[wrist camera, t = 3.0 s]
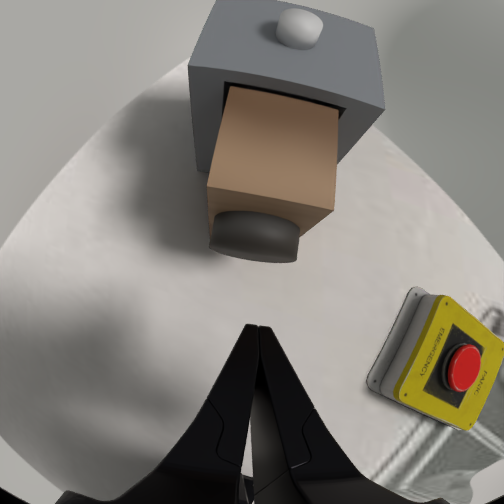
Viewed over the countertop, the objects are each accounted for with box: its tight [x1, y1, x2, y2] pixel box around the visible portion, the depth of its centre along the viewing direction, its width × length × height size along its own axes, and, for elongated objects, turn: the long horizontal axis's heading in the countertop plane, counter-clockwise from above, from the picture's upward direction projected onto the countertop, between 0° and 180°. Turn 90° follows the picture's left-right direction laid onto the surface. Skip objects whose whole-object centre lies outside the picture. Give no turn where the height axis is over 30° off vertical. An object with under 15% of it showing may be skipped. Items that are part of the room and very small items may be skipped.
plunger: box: [207, 86, 338, 263], centre depth 17 cm, size 6×5×10 cm
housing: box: [188, 0, 385, 173], centre depth 17 cm, size 6×9×13 cm
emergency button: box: [367, 287, 504, 430], centre depth 20 cm, size 9×4×15 cm
